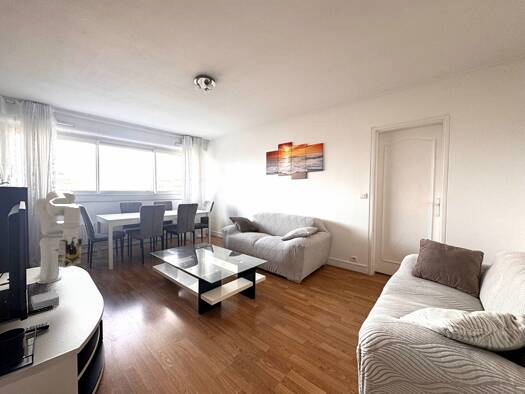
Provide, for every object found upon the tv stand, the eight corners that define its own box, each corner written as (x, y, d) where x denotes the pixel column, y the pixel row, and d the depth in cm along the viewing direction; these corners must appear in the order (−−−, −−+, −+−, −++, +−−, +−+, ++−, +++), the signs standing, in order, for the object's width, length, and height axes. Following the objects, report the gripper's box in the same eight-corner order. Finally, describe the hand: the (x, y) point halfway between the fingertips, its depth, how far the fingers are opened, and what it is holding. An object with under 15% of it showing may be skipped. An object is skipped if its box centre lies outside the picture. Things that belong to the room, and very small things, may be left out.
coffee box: (65, 268, 125) (66, 241, 124) (57, 266, 126) (58, 240, 126) (81, 263, 134) (82, 238, 133) (73, 261, 135) (74, 237, 134)
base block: (30, 304, 120) (31, 296, 119) (54, 298, 128) (55, 290, 128) (33, 312, 113) (34, 303, 113) (58, 305, 121) (59, 296, 121)
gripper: (58, 224, 130) (57, 251, 131) (68, 228, 121) (67, 257, 122) (73, 222, 137) (72, 248, 137) (84, 227, 128) (83, 254, 128)
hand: (70, 252), depth 130 cm, fingers closed on coffee box, 8 cm apart
